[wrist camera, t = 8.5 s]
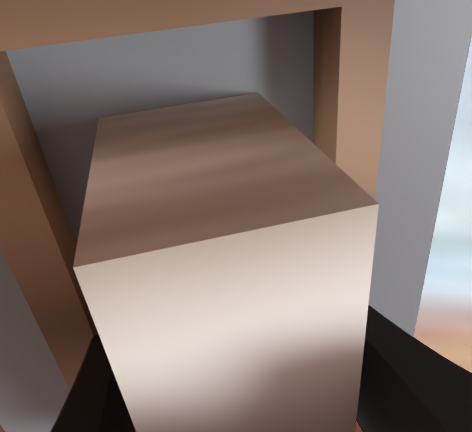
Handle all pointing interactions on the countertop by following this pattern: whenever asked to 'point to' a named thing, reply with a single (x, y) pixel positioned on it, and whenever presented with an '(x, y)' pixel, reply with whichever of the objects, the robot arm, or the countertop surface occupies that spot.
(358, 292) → the block
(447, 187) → the countertop surface
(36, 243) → the jig board
